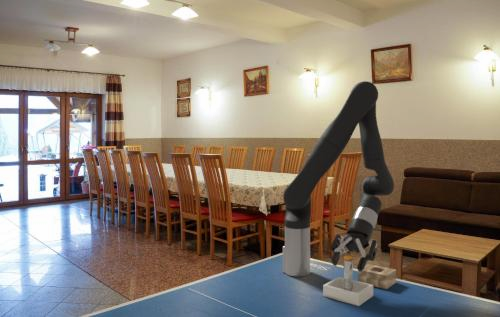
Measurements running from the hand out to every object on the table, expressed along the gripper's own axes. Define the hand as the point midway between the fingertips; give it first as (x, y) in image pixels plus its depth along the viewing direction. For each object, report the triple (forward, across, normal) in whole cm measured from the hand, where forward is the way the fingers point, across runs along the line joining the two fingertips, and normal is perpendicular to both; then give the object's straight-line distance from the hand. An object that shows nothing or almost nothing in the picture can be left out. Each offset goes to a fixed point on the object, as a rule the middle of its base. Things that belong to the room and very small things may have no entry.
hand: (346, 267), depth 129 cm
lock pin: (+5, 0, +7) cm, 9 cm away
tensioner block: (-6, +2, +20) cm, 21 cm away
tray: (+6, 0, +8) cm, 9 cm away
